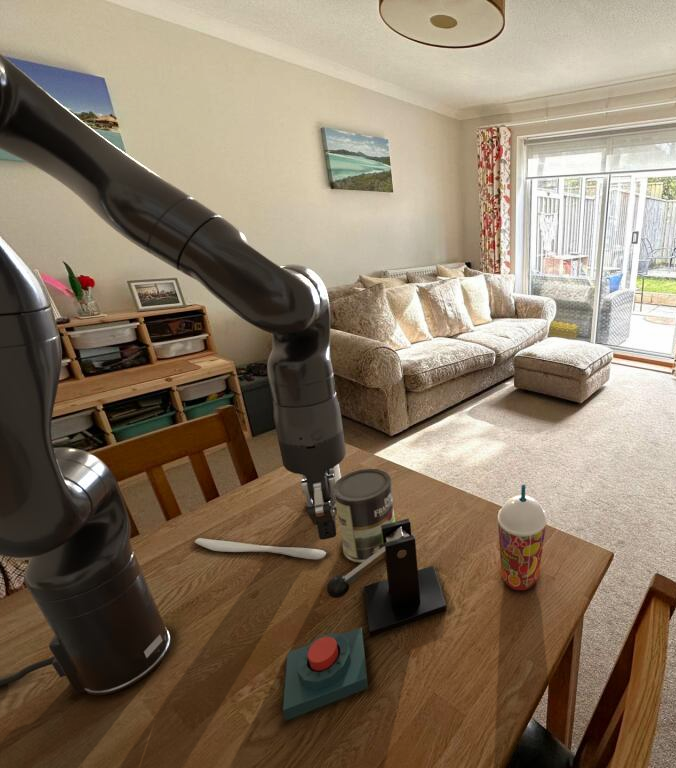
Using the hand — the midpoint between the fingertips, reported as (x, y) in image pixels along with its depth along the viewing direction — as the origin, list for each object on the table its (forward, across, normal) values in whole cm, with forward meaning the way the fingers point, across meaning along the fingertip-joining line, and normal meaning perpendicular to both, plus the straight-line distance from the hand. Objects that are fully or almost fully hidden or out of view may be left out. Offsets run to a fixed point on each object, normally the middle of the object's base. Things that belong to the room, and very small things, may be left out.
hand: (328, 535), depth 58 cm
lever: (+9, 0, +6) cm, 10 cm away
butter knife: (+18, -22, -14) cm, 32 cm away
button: (+14, +8, -2) cm, 16 cm away
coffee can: (+18, -16, +6) cm, 25 cm away
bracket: (+17, 0, +10) cm, 20 cm away
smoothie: (+17, +3, +30) cm, 35 cm away
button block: (+18, +8, -2) cm, 19 cm away
